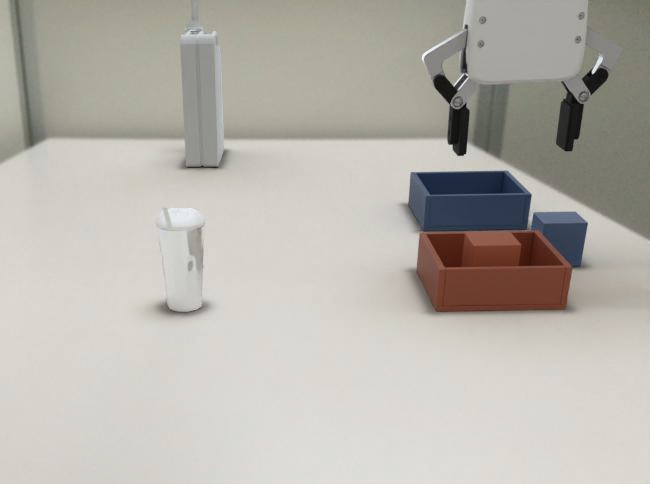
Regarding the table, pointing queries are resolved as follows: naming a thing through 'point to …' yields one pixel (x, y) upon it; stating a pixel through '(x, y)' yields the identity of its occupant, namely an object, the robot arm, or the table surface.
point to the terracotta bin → (493, 275)
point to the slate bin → (468, 200)
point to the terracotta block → (490, 249)
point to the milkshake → (182, 256)
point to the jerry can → (202, 94)
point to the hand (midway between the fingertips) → (511, 150)
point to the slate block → (563, 233)
